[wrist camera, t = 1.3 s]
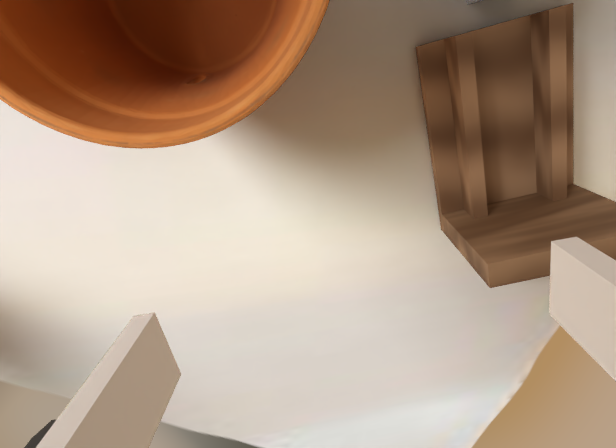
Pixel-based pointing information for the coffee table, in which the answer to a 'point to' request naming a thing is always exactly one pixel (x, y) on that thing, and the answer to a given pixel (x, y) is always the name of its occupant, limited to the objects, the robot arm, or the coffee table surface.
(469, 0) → the blue-gray rectangular block
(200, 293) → the coffee table surface
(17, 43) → the flower pot
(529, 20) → the track
